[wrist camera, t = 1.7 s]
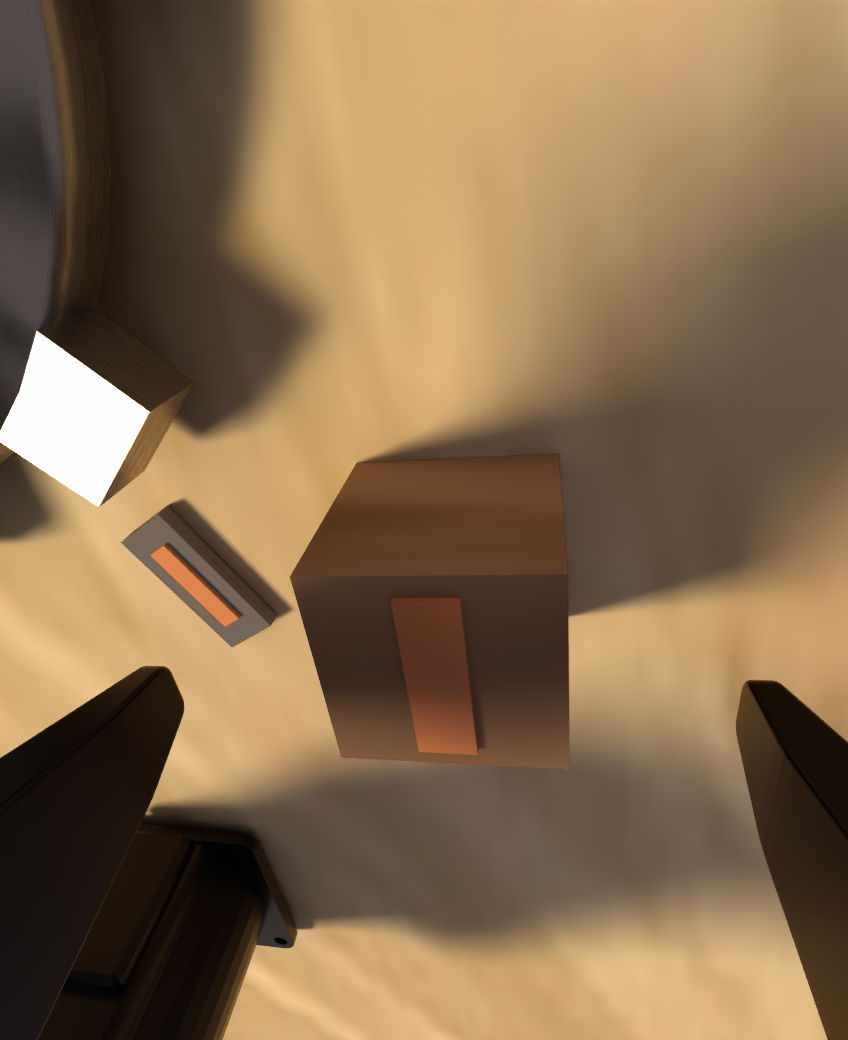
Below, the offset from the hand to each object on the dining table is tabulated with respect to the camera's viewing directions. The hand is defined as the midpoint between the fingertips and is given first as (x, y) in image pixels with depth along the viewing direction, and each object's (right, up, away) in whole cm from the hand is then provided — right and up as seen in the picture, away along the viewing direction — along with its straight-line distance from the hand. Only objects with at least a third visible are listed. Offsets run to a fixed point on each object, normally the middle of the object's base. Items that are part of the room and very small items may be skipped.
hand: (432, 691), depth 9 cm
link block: (+1, +2, +4) cm, 4 cm away
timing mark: (-5, +1, +5) cm, 7 cm away
